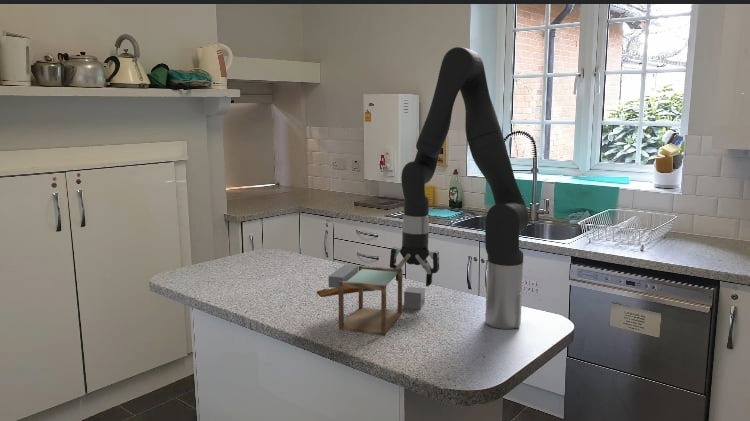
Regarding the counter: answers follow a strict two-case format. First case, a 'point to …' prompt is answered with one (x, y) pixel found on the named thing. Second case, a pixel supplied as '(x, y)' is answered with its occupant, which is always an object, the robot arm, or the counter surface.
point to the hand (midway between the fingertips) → (413, 284)
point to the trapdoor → (360, 276)
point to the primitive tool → (335, 291)
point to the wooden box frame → (368, 317)
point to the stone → (414, 298)
